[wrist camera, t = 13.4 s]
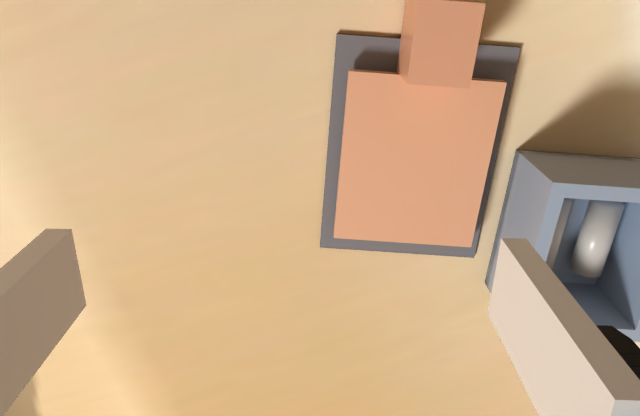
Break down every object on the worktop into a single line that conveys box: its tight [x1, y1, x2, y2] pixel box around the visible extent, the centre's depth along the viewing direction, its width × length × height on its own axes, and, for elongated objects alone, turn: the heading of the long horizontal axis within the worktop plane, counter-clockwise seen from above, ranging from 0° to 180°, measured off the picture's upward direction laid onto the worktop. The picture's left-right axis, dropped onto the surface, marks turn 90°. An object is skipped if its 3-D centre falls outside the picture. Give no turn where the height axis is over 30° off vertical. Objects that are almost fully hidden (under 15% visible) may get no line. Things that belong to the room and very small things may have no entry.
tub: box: [485, 150, 640, 342], centre depth 39 cm, size 12×10×7 cm
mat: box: [320, 34, 520, 258], centre depth 39 cm, size 17×13×1 cm
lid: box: [334, 0, 507, 247], centre depth 36 cm, size 18×11×5 cm, turn 176°
